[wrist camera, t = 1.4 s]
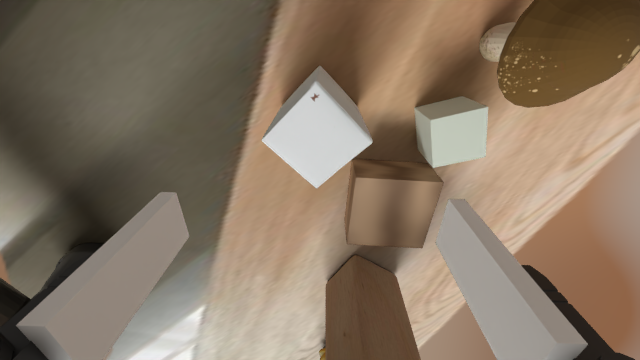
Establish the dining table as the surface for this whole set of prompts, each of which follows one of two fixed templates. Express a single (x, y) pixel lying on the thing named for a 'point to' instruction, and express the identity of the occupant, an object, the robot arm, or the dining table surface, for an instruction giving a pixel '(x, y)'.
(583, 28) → the mushroom
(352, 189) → the base block
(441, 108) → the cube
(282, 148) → the supplement box
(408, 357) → the wooden block
